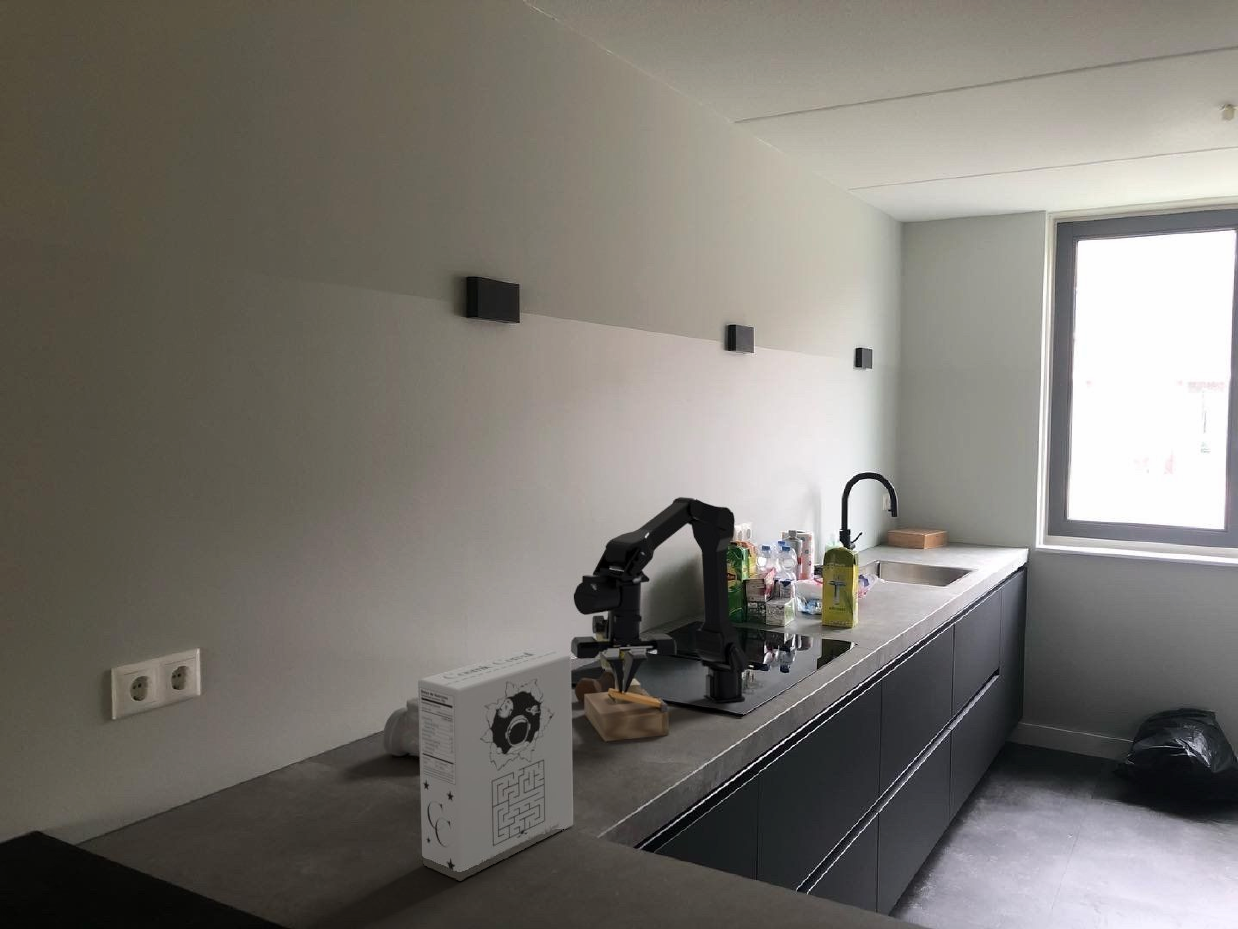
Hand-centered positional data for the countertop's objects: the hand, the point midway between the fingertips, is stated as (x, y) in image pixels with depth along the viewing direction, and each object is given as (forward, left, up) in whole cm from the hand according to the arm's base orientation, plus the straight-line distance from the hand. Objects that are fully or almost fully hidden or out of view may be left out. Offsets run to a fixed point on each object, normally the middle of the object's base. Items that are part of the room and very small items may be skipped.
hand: (622, 692), depth 180 cm
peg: (-3, -8, -8) cm, 11 cm away
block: (-2, -4, -8) cm, 9 cm away
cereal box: (+28, +39, -8) cm, 49 cm away
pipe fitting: (+36, +3, -8) cm, 37 cm away
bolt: (-3, -24, -8) cm, 26 cm away
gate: (-3, 0, -2) cm, 3 cm away
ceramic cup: (-11, -41, -8) cm, 43 cm away
